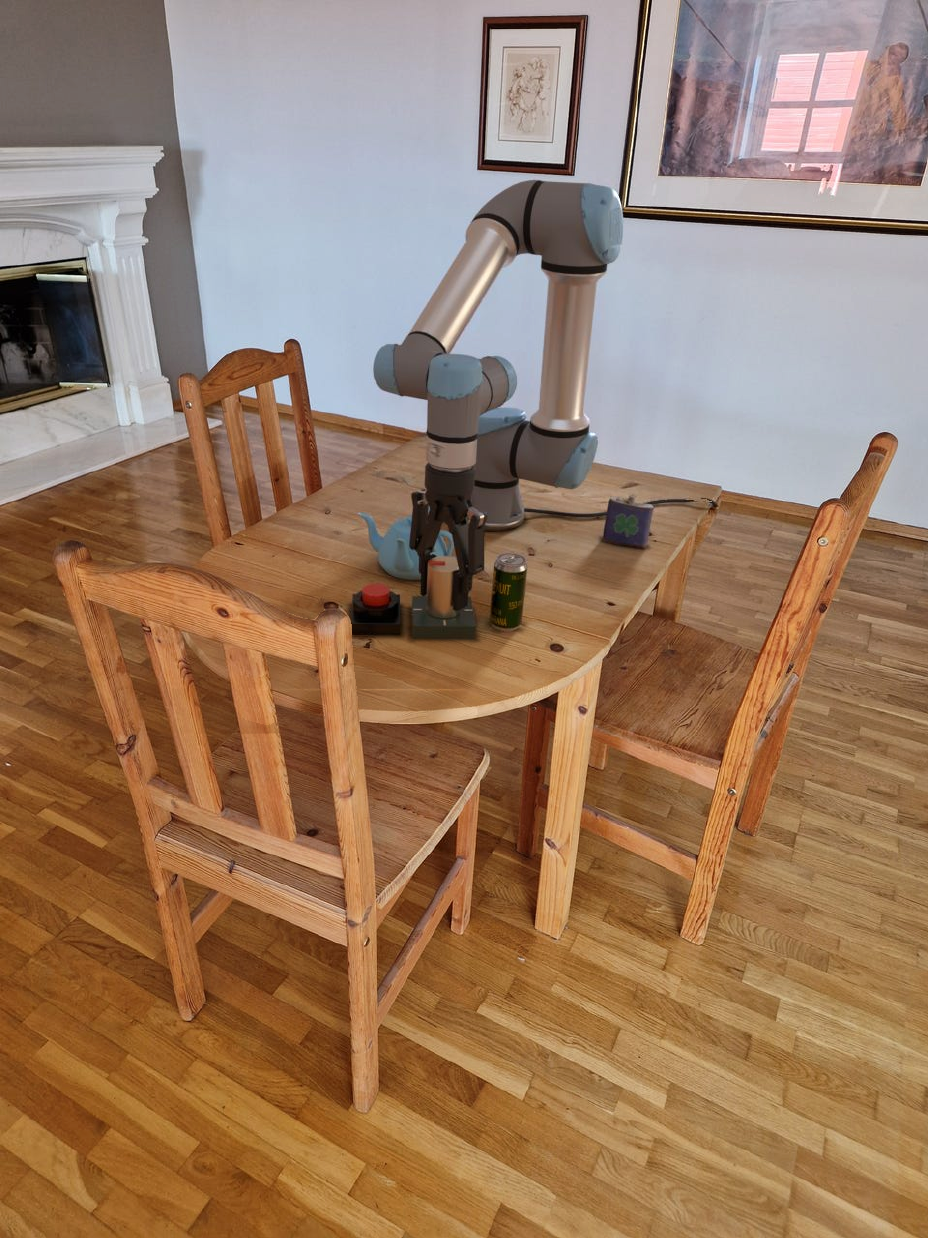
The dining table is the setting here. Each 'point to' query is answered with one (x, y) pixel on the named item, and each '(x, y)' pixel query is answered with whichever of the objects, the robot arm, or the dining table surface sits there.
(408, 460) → the dining table surface
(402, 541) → the teapot
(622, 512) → the flask
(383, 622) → the button box
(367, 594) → the button
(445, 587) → the tan upright cylinder
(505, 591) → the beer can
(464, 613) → the block
